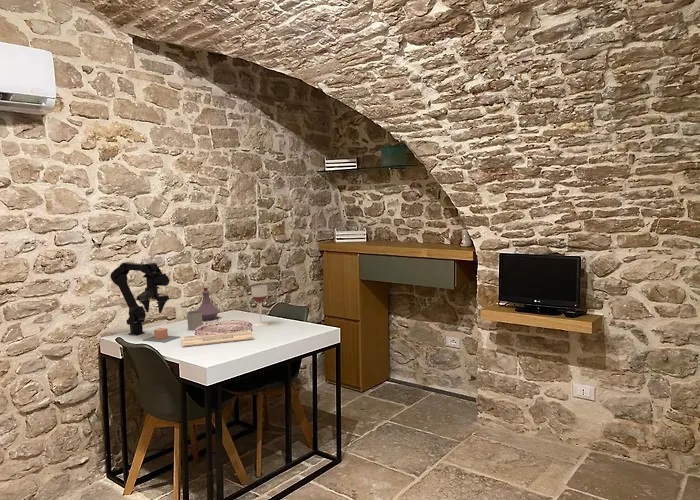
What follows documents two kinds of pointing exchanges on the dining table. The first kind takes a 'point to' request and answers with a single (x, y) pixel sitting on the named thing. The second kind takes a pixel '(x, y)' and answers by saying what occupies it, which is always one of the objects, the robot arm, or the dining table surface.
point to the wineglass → (259, 298)
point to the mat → (162, 339)
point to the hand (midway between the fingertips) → (153, 312)
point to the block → (161, 333)
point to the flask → (207, 307)
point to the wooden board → (217, 338)
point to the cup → (194, 319)
